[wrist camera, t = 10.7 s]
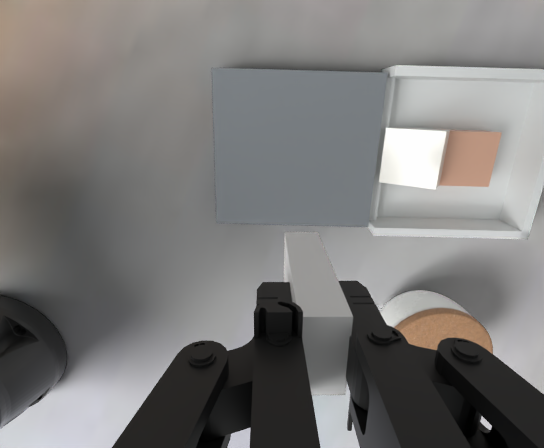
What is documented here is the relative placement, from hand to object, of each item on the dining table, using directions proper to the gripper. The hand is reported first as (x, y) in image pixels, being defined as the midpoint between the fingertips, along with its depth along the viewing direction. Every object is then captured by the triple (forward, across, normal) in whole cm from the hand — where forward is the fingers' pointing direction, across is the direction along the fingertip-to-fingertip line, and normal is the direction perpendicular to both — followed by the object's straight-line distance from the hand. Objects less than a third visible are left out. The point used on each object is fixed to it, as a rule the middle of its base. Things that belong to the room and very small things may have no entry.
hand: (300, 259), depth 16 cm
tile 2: (+18, +13, +2) cm, 23 cm away
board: (+21, +1, +2) cm, 21 cm away
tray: (+20, +17, +2) cm, 26 cm away
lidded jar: (+21, +15, -17) cm, 31 cm away
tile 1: (+17, +17, +2) cm, 24 cm away
